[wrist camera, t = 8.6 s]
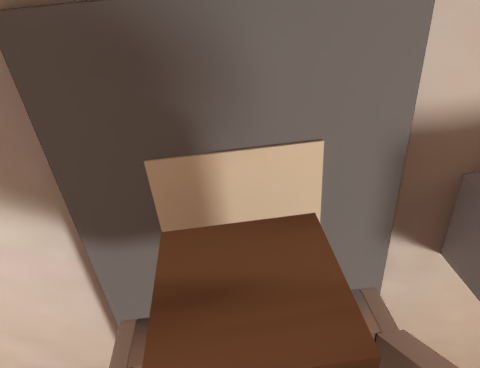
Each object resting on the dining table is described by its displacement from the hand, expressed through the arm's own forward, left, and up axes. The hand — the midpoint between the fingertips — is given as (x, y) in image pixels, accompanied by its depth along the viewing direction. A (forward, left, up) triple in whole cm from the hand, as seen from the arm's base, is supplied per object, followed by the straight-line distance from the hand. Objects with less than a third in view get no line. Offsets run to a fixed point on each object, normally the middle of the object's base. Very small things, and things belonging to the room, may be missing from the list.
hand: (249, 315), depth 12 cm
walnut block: (0, 0, -2) cm, 2 cm away
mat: (0, 0, -6) cm, 6 cm away
